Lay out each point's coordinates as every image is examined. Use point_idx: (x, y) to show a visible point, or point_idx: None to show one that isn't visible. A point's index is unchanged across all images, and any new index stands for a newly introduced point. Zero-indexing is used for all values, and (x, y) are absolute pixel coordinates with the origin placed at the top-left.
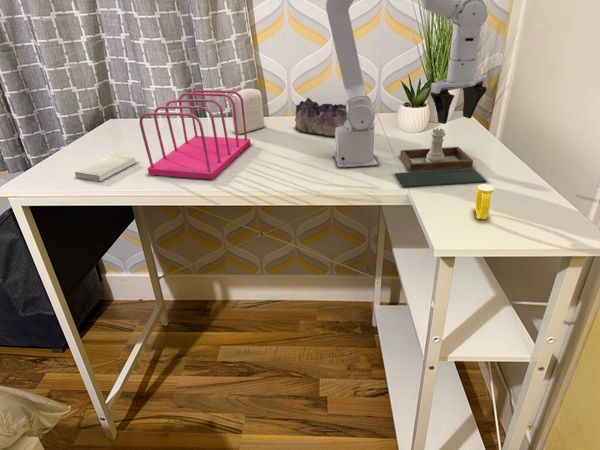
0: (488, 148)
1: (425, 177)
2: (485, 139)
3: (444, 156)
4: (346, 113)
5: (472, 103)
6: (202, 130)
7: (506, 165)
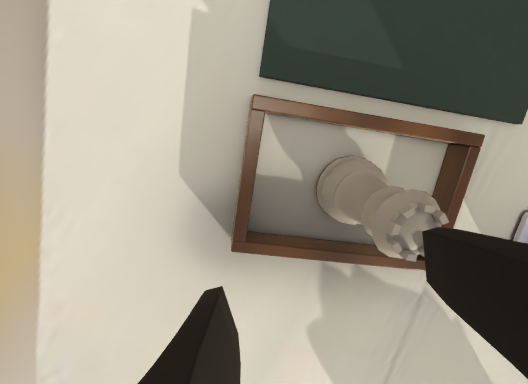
0: (95, 256)
1: (461, 52)
2: (64, 338)
3: (328, 179)
4: None
5: (203, 382)
6: None
7: (109, 77)
